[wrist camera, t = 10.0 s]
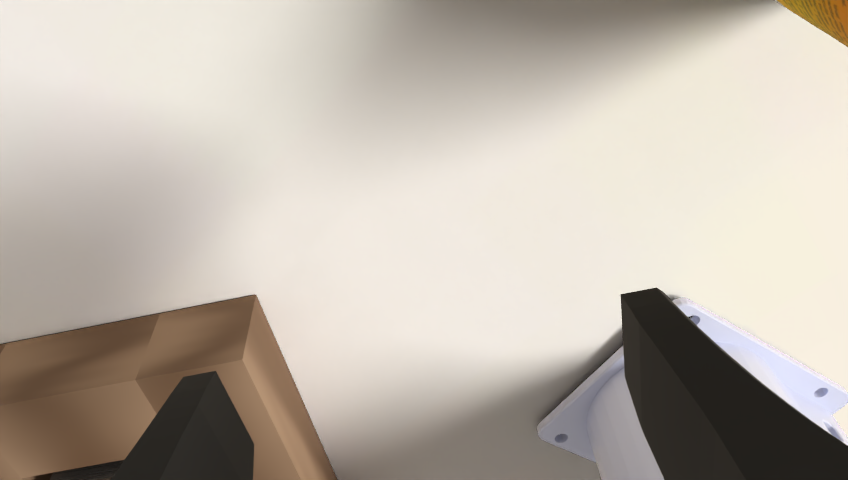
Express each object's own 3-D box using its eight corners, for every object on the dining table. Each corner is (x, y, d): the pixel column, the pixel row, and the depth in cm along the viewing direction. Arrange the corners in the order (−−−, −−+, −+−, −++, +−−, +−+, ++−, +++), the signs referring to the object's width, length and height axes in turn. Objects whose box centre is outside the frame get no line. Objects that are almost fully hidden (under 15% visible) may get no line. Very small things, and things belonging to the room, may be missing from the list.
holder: (255, 294, 23) (242, 359, 21) (349, 506, 30) (347, 574, 28) (-86, 361, 24) (-137, 431, 22) (81, 553, 31) (56, 622, 28)
